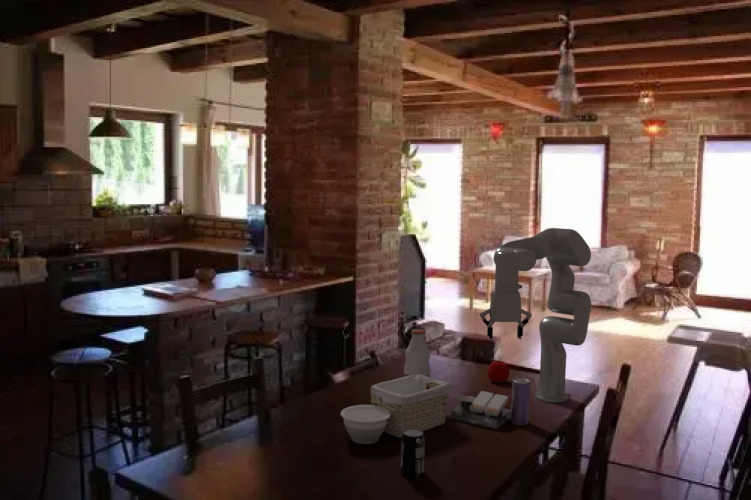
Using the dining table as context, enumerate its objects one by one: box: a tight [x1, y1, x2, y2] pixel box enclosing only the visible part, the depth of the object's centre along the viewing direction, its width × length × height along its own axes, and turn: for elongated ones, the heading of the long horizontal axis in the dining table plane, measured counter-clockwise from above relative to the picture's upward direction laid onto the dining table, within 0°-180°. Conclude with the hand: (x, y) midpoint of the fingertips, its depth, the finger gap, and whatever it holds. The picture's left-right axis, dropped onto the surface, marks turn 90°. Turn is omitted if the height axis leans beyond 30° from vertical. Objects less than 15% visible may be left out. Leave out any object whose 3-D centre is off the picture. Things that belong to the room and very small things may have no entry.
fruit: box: [486, 357, 511, 384], centre depth 282 cm, size 9×9×10 cm
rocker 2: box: [470, 390, 495, 413], centre depth 239 cm, size 10×4×2 cm, turn 146°
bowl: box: [340, 404, 391, 445], centre depth 219 cm, size 16×16×9 cm
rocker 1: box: [455, 393, 476, 402], centre depth 242 cm, size 10×4×2 cm, turn 147°
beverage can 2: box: [510, 377, 531, 426], centre depth 235 cm, size 6×6×15 cm
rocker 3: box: [484, 393, 509, 416], centre depth 236 cm, size 10×4×2 cm, turn 146°
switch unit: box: [450, 400, 511, 430], centre depth 239 cm, size 13×17×5 cm
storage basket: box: [370, 374, 451, 439], centre depth 230 cm, size 24×16×15 cm
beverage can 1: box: [400, 428, 426, 478], centre depth 194 cm, size 7×7×12 cm
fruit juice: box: [403, 328, 431, 390], centre depth 251 cm, size 9×9×28 cm
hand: (504, 338), depth 230 cm, fingers open, 9 cm apart
